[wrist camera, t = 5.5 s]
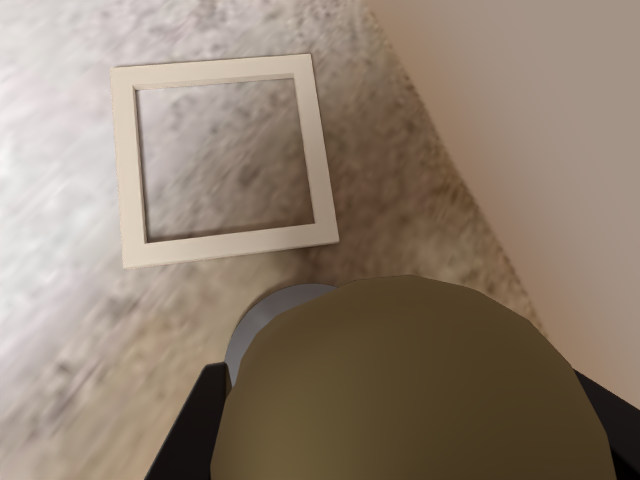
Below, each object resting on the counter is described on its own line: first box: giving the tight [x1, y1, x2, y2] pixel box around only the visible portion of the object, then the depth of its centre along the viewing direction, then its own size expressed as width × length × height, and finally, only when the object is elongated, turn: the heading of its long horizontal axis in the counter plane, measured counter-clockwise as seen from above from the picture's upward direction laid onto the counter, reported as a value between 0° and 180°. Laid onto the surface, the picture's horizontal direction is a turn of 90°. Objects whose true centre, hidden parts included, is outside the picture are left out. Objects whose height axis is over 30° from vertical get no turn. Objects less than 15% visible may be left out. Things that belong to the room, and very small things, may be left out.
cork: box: [210, 275, 617, 480], centre depth 10 cm, size 6×6×11 cm
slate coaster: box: [224, 284, 338, 388], centre depth 21 cm, size 8×8×1 cm
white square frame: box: [110, 54, 339, 269], centre depth 23 cm, size 10×10×1 cm
